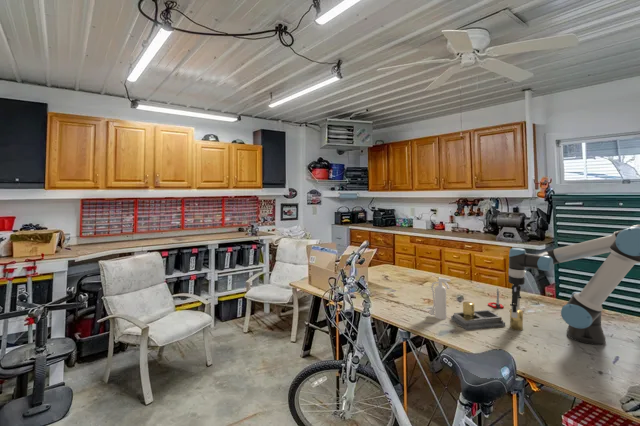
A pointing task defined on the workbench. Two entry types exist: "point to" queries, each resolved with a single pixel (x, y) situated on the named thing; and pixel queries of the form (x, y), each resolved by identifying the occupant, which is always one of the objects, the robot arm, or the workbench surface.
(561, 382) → the workbench surface
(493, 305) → the tow hook
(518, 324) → the sleeve
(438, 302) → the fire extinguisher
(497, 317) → the housing
